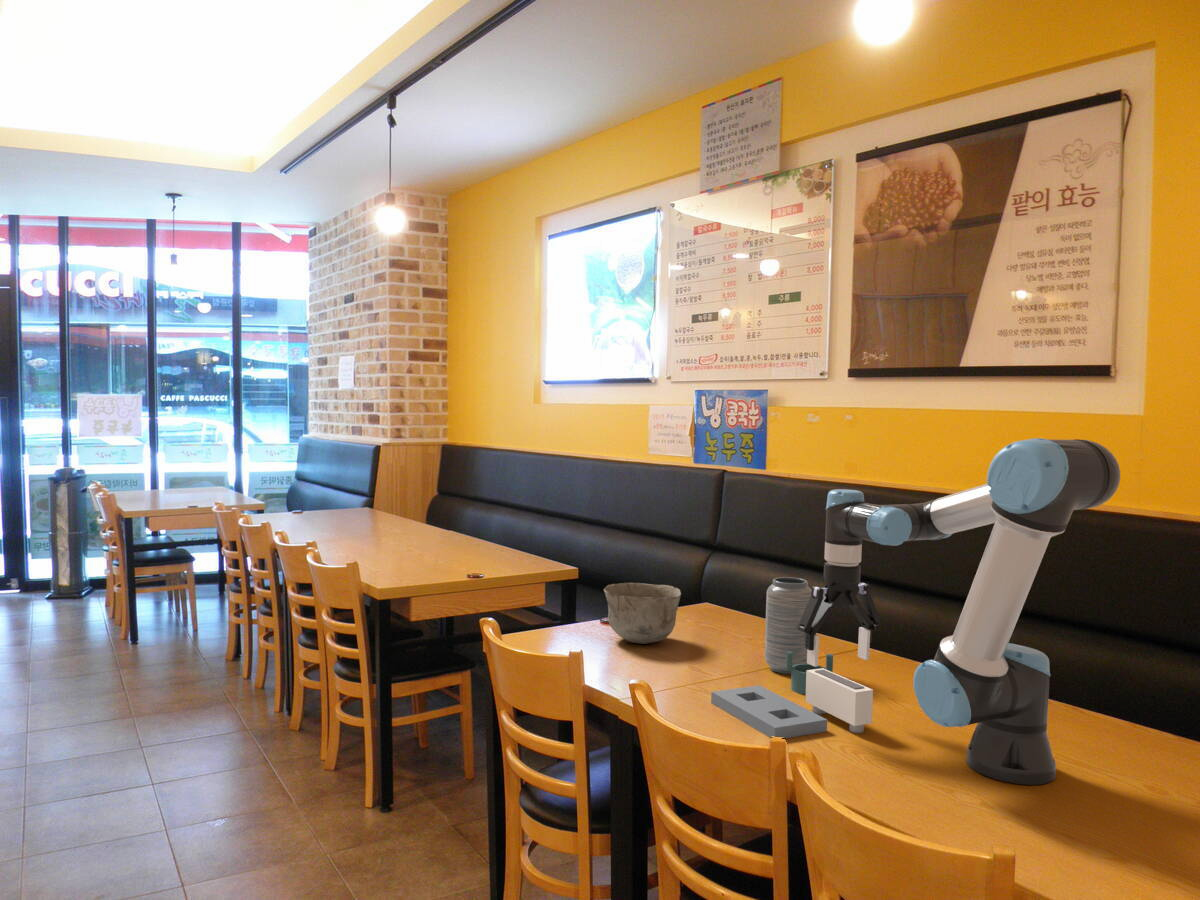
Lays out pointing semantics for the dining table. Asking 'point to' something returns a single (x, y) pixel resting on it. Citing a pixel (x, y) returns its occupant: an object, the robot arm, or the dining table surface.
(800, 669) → the bracket
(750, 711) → the board
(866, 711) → the block
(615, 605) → the bowl
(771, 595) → the vase
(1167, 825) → the dining table surface
